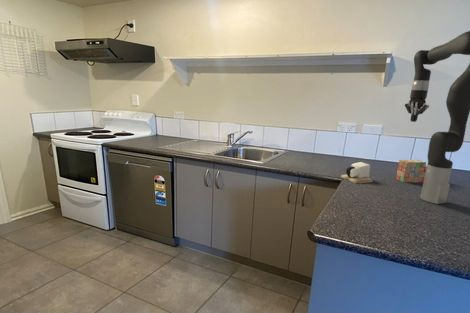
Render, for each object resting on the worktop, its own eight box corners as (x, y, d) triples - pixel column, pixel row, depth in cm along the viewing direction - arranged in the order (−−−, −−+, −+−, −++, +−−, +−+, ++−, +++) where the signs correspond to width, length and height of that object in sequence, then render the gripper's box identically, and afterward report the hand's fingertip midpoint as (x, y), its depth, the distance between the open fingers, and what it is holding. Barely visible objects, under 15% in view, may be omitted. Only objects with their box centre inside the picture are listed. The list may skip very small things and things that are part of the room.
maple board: (372, 181, 155) (372, 179, 155) (356, 183, 151) (356, 181, 151) (356, 175, 166) (357, 173, 166) (341, 176, 162) (341, 174, 161)
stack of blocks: (427, 179, 166) (431, 159, 163) (435, 182, 159) (440, 162, 157) (395, 178, 163) (399, 159, 160) (402, 182, 157) (406, 161, 154)
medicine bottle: (360, 172, 165) (344, 176, 161) (360, 161, 163) (344, 165, 159) (369, 176, 158) (353, 180, 154) (370, 164, 156) (353, 168, 152)
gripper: (403, 89, 151) (397, 120, 155) (426, 89, 139) (419, 123, 143) (413, 89, 153) (407, 120, 158) (436, 90, 141) (429, 123, 145)
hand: (413, 121), depth 150 cm, fingers closed
